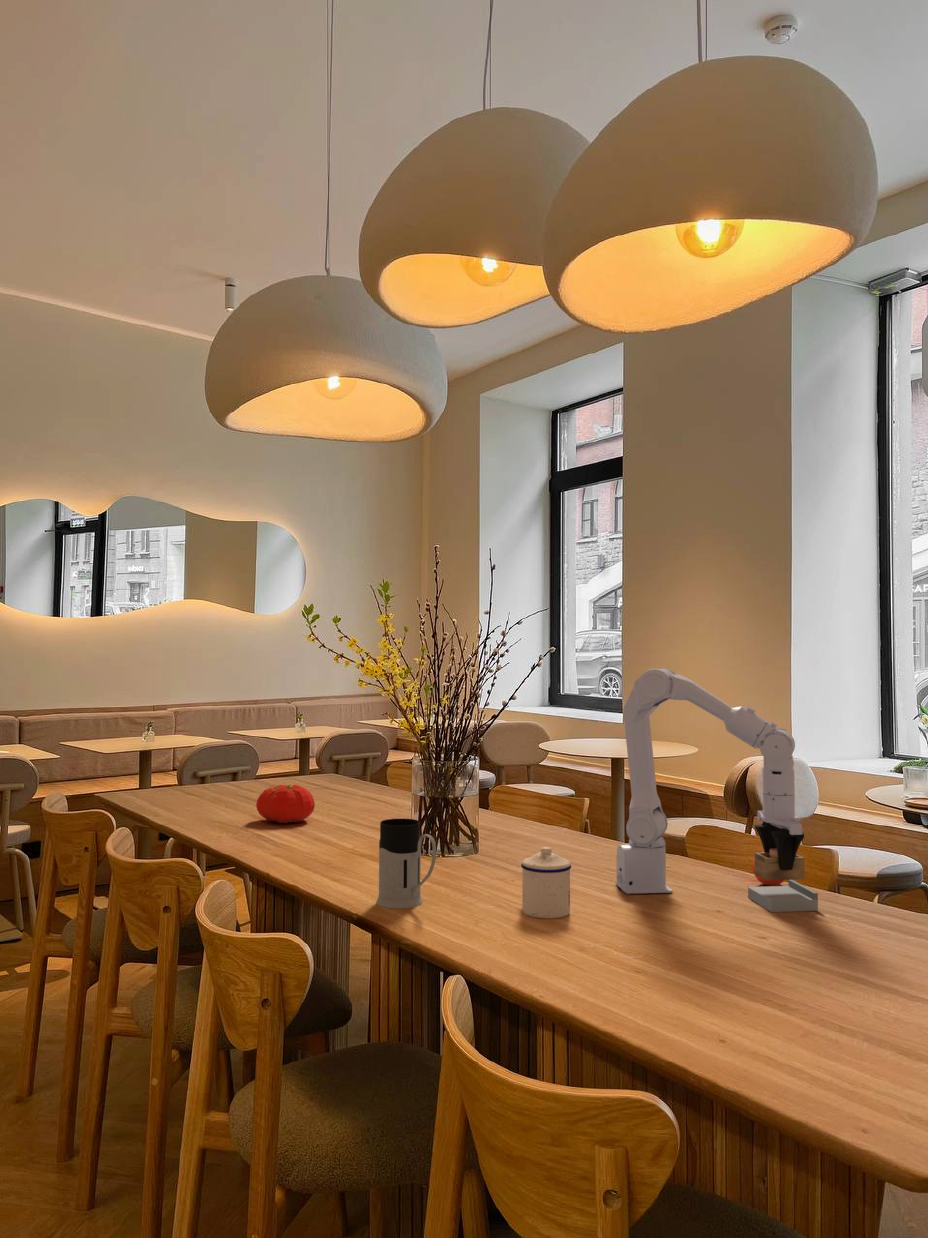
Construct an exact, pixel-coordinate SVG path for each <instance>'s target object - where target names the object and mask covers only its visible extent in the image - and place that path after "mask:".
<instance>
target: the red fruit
mask: <svg viewBox="0 0 928 1238" xmlns="http://www.w3.org/2000/svg"><path fill="white" fill-rule="evenodd" d="M761 853H764V851H762V852H761ZM752 871H753V875H754V877H755V878H756V880H757V881H759V882H760V884H763V885H765V886H766V887H767V886H780V885H781V884H782V883H784V881H785V880H765V879H763V878H761V877H760V876H758V875H756V874H755V858H754V860H753V862H752Z"/></svg>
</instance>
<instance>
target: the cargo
mask: <svg viewBox="0 0 928 1238" xmlns="http://www.w3.org/2000/svg"><path fill="white" fill-rule="evenodd" d="M770 858H778V853H777V848H772V849H770Z"/></svg>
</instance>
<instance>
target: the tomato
mask: <svg viewBox="0 0 928 1238" xmlns="http://www.w3.org/2000/svg"><path fill="white" fill-rule="evenodd" d="M255 805H256V811H257V812H258V814H259V815H260V816H261V817H263V818H264V819H265V820H267V821H269V822H271V821H276V822H275V823H278V822H279V823H278V824H281V823H284V824H289V823H292V822H297V823H300V822H301V821H304V820H306V819H307V818H309V817H310V816H311V815H312V813H313V812H314V810H315V806H316V804H315V799H314V797H313V794H311V792H310V791H309V790H308V789H306V788H305V787H303V786H300V785H297V784H293V785H291V784H288V785H287V784H279V785H276V786H273V787H269V788H266V789H264V790H263V791H262V792H261V793H260V794H259V795H258V798H257V799H256V804H255ZM299 821H300V822H299ZM288 822H289V823H288Z"/></svg>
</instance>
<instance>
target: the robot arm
mask: <svg viewBox="0 0 928 1238" xmlns="http://www.w3.org/2000/svg"><path fill="white" fill-rule="evenodd" d="M669 699H670V700H672V701H673V700H674V701H675V700H677V701H688V702H690V703H692V704H693V705H695V706H697V707H698V708H700V709H702V710H704V711H706V712H707V713H708V714H711V715H712V716H714V717H716V718H717V719H718V720H719V719H720V720H721V721H722V722H724V726H725V730H726V731H727V732H728V733H729V734H731V735H732V736H733V737H734V736H735V737H736V738H737V739H739V740H740V741H742V742H744V743H745V744H747V745H749V746H750V747H752V748H753V749H758V750H760V753H761V755H762V758H763V767H762V810H757V821H758V822H762V823H761V824H755V825H754V828H755V830H756V832H757V834H758V836H759V839H760V842H761V845H762V849H763V852H770V849H772V848H777V853H778V862H779V867H780V869H781V870H792V868H793V864H794V860H795V856H796V854H798V850H799V848H800V845H801V843H802V841H803V840H804V839H805V833H804V832H803V824H802V823H800V822H801V817H800V816H798V815H795V814H796V813H795V811H796V808H795V807H796V805H795V792H796V791H795V787H796V786H795V769H794V765H795V762H794V756H792V755H793V753H794V752H795V748H796V742H795V739H794V737H793V735H792V734H791V733H790V732H788V730H787V729H785V728H781V727H778V728H777V726H778V723H776V722H774V721H772V722H769V721H768V720H766V719H765V718H763V717H761V716H760V715H758V714H756V713H755V712H756V710H755V708H753V707H751V706H749V707H747V708H746V707H745V706H743V705H741V706H736V707H732V706H731V705H730V704H728V703H726V702H725V701H724V700H722V699H720V698H719V697H717V696H716V695H714V694H713V693H711V692H709V691H708V690H707V689H705V688H704V687H703V686H701V685H700V684H697V683H696V682H695V681H693V680H692V679H689V678H687V677H685V676H684V675H682V674H678V673H675V672H674V671H673V670H672V669H669V668H663V667H662V668H659V669H657V668H651V669H648V670H645V672H643V673H642V674H640V675H639V677H638V678H637V679H636V680H635V681H634V684H633V687H632V689H631V691H630V693H629V695H628V697H627V700H626V702H625V704H624V705H623V723H624V730H625V742H626V752H627V753H626V754H627V762H628V772H629V773H628V774H629V782H630V783H629V784H630V792H631V793H630V794H631V799H630V803H629V807H628V811H629V815H628V816H629V817H628V820H627V822H626V826H625V827H626V829H625V830H626V834H627V836H628V838H629V839H628V843H626V844H619V845H617V848H616V882H615V885H616V886H617V887H619V889H621V890H622V891H623V892H624V893H625V894H627V895H628V894H629V895H631V894H632V895H633V894H635V895H636V894H638V895H639V894H668V893H669V894H671V893H673V892H674V891H673V889H672V888H670V887H669V886H668V885H667V883H666V881H667V880H666V879H667V876H666V875H667V873H666V872H667V869H666V867H667V863H666V861H667V860H666V859H667V858H666V857H667V856H666V855H667V854H666V851H667V850H666V845H667V844H666V841H665V839H664V837H663V835H664V834H665V833H666V832H667V829H668V818H667V816H666V814H665V813H664V810H663V809H662V808H663V807H662V803H661V802H662V801H661V800H660V797H659V795H658V792H657V781H656V770H655V769H656V768H655V760H654V751H653V741H652V731H651V730H652V729H651V723H650V722H651V721H650V716H651V715H652V714H653V712H655V710H656V709H657V708H658V707H660V705H661V704H662V703H665V702H666V701H668V700H669Z"/></svg>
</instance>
